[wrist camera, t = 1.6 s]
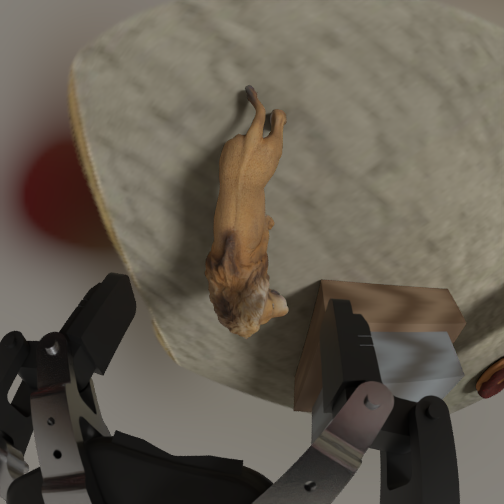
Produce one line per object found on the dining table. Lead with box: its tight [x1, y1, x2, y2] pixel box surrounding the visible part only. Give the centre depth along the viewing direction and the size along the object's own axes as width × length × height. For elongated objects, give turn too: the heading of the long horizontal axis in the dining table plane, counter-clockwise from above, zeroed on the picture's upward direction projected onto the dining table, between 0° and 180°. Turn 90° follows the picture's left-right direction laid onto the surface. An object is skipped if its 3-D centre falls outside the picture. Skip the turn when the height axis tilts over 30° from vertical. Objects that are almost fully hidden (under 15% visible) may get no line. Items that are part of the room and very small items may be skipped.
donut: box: [476, 358, 504, 398], centre depth 29 cm, size 10×10×4 cm
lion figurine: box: [205, 85, 288, 339], centre depth 16 cm, size 15×5×9 cm, turn 3°
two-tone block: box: [294, 280, 467, 445], centre depth 23 cm, size 14×16×10 cm
